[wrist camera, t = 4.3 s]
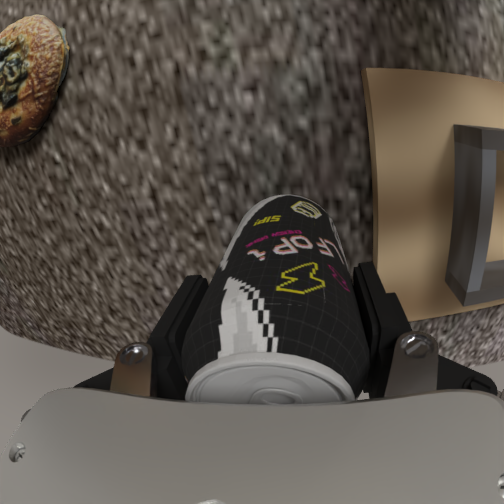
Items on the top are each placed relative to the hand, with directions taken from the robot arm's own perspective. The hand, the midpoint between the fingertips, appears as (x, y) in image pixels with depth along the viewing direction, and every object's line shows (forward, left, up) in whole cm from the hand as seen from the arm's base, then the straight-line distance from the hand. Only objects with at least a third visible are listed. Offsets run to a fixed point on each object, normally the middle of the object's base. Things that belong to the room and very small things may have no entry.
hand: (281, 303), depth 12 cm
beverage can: (0, 0, -7) cm, 7 cm away
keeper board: (+1, -15, -7) cm, 17 cm away
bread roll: (+16, +18, -8) cm, 25 cm away
